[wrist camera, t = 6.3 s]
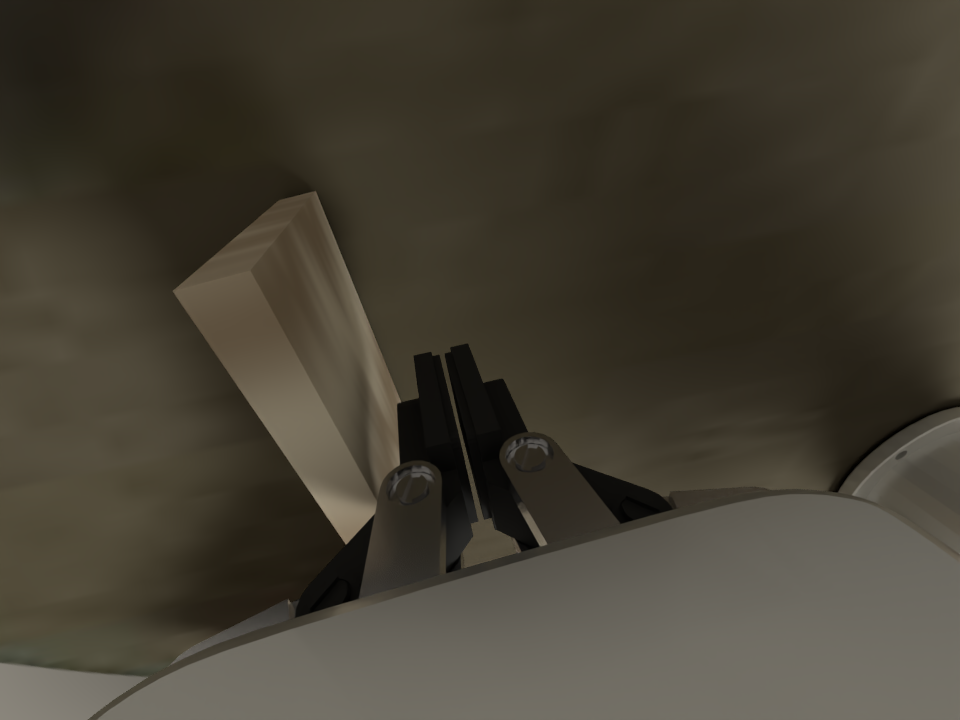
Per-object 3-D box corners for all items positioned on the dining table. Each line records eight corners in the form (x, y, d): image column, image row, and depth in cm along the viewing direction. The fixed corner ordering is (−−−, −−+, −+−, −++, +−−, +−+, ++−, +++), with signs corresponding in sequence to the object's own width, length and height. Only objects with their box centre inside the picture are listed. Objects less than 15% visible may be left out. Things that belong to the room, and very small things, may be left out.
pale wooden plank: (430, 474, 21) (455, 645, 14) (407, 481, 20) (422, 657, 14) (315, 190, 13) (250, 270, 6) (278, 200, 13) (172, 290, 6)
